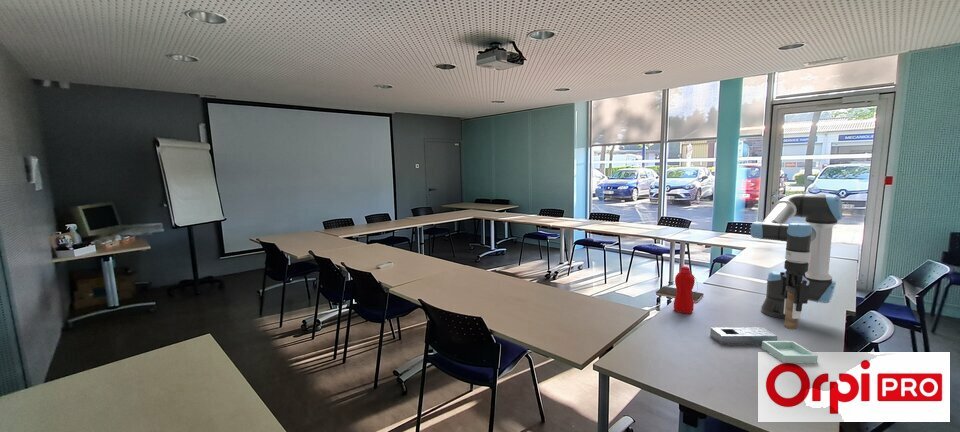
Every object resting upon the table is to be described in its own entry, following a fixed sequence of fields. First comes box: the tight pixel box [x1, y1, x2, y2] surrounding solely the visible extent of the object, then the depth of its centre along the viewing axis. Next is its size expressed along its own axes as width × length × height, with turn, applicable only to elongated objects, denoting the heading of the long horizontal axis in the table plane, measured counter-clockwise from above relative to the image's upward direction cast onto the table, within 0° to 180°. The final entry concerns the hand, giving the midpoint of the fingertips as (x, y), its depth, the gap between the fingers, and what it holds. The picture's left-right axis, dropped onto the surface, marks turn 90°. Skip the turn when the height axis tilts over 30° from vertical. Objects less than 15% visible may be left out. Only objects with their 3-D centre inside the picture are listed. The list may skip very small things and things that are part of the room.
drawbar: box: [709, 326, 778, 346], centre depth 174 cm, size 24×9×4 cm, turn 87°
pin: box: [783, 285, 798, 331], centre depth 157 cm, size 5×5×18 cm
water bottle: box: [673, 265, 699, 315], centre depth 208 cm, size 9×11×25 cm
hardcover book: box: [655, 285, 705, 304], centre depth 235 cm, size 16×23×2 cm
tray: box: [761, 340, 819, 364], centre depth 160 cm, size 13×13×3 cm
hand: (791, 315), depth 158 cm, fingers closed on pin, 4 cm apart
